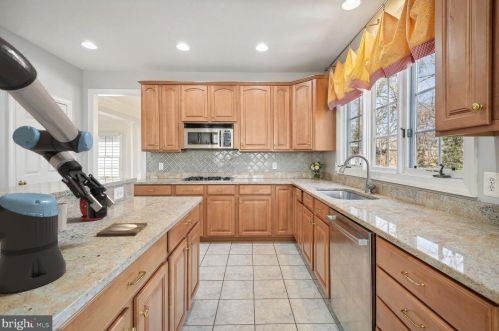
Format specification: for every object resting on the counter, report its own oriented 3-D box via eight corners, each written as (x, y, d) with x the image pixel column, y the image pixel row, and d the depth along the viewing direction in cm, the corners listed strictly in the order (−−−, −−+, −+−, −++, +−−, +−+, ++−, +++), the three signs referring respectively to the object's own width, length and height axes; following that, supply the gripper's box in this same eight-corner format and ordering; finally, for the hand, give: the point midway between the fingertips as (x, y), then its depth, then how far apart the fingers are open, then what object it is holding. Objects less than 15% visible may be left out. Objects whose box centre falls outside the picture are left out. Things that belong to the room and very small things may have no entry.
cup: (55, 232, 106) (55, 206, 106) (41, 231, 108) (41, 205, 107) (72, 227, 114) (72, 202, 114) (58, 226, 115) (58, 202, 115)
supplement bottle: (104, 214, 99) (104, 185, 99) (109, 217, 94) (109, 186, 94) (85, 216, 95) (85, 186, 94) (89, 220, 90) (88, 188, 89)
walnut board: (135, 235, 103) (135, 232, 103) (96, 236, 101) (96, 233, 101) (147, 225, 119) (147, 222, 119) (113, 226, 117) (113, 223, 117)
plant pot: (103, 221, 127) (103, 198, 126) (75, 222, 123) (75, 199, 123) (111, 215, 139) (110, 195, 139) (85, 216, 136) (85, 195, 136)
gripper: (79, 171, 105) (115, 208, 104) (37, 173, 85) (80, 219, 85) (91, 159, 105) (126, 197, 104) (50, 159, 85) (94, 205, 84)
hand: (105, 207), depth 94 cm, fingers closed on supplement bottle, 7 cm apart
